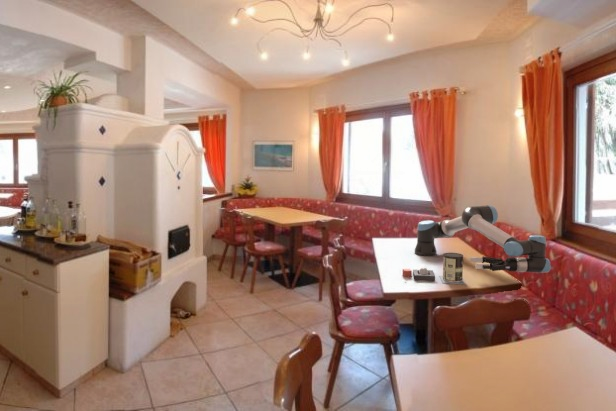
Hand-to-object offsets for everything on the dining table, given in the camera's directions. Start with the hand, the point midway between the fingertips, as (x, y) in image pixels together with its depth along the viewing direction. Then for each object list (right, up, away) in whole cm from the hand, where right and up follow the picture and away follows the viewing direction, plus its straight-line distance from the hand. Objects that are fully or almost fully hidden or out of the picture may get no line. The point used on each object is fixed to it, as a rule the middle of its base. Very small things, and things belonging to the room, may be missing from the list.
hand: (472, 262), depth 193 cm
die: (-32, -10, +12) cm, 36 cm away
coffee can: (-9, -10, +3) cm, 14 cm away
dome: (-24, -9, +8) cm, 27 cm away
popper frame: (-24, -10, +9) cm, 27 cm away
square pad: (-10, -10, +3) cm, 14 cm away
